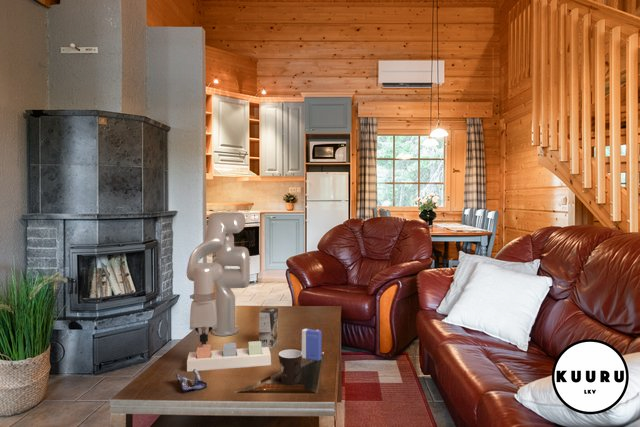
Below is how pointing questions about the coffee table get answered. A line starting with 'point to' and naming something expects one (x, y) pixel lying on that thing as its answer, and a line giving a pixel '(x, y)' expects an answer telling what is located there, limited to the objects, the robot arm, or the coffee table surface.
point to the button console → (228, 360)
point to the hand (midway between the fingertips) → (203, 343)
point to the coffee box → (268, 327)
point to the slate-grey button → (229, 349)
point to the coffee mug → (290, 365)
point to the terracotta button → (204, 351)
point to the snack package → (197, 382)
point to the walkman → (311, 344)
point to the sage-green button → (254, 348)
